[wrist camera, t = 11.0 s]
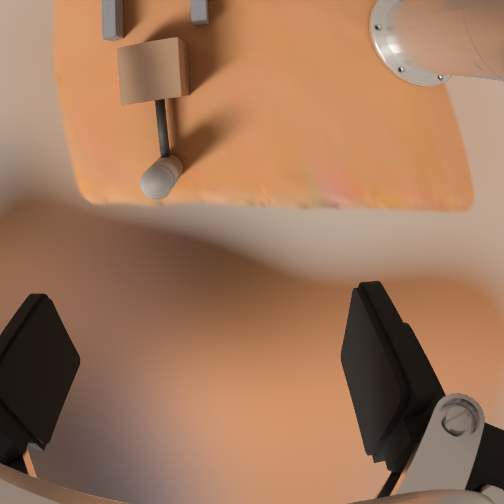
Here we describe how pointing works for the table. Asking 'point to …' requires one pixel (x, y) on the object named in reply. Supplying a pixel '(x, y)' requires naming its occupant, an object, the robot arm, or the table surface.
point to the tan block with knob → (156, 99)
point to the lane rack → (114, 17)
